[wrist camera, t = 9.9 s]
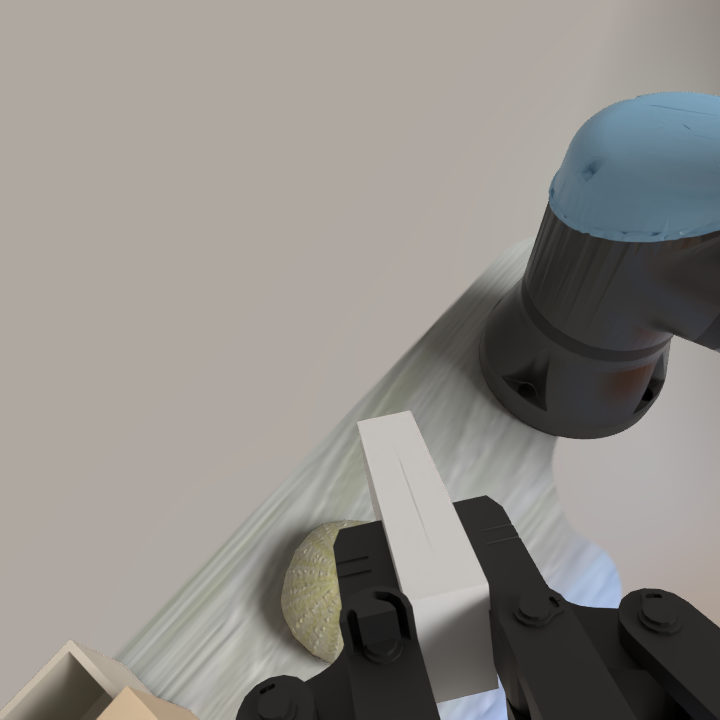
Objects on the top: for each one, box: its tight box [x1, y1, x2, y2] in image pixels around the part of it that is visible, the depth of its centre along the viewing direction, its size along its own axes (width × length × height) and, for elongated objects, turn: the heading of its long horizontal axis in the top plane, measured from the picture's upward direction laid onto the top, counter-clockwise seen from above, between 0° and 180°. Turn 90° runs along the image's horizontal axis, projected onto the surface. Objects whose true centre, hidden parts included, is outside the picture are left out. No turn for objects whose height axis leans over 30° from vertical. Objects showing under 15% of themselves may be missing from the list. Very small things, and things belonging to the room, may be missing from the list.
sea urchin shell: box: [280, 519, 370, 664], centre depth 41 cm, size 9×8×8 cm
